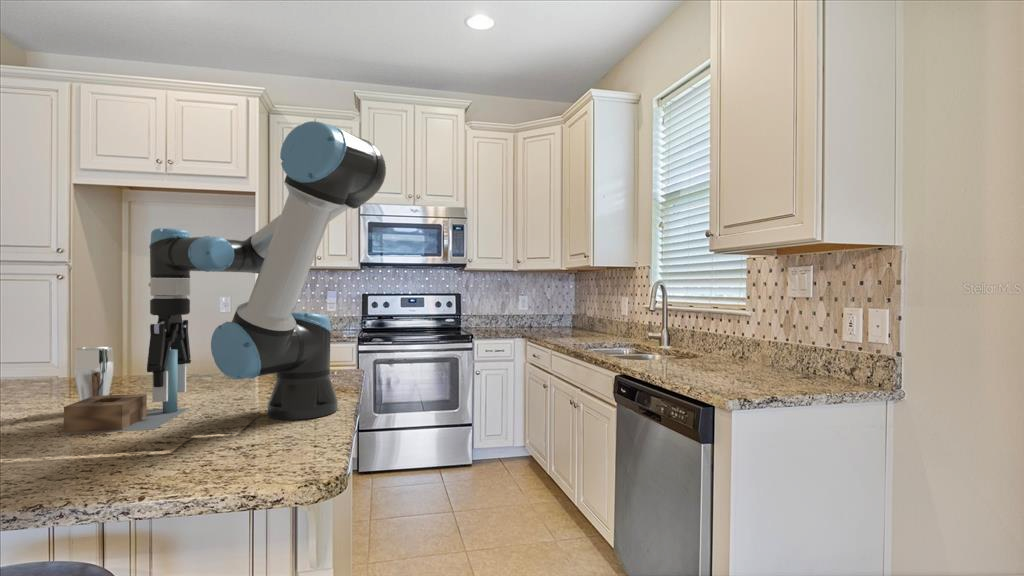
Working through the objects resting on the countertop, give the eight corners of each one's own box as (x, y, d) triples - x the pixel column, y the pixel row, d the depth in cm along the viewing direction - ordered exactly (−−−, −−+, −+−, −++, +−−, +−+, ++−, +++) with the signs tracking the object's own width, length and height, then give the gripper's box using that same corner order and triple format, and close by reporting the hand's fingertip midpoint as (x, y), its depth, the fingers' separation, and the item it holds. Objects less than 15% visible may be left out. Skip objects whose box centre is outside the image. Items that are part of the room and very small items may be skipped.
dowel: (179, 410, 118) (179, 349, 118) (174, 413, 115) (174, 350, 115) (165, 410, 117) (166, 349, 117) (160, 413, 115) (160, 351, 114)
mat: (189, 410, 120) (190, 408, 120) (153, 432, 102) (153, 429, 102) (111, 413, 116) (111, 411, 116) (60, 437, 99) (60, 433, 99)
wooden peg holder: (146, 416, 112) (146, 394, 112) (122, 429, 102) (122, 404, 102) (93, 419, 110) (93, 395, 110) (63, 432, 100) (63, 406, 100)
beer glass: (96, 418, 113) (96, 350, 113) (65, 417, 113) (65, 349, 113) (121, 410, 120) (121, 346, 120) (91, 409, 120) (92, 345, 120)
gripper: (172, 296, 126) (172, 387, 126) (126, 298, 105) (126, 408, 105) (206, 296, 127) (206, 386, 128) (167, 298, 106) (167, 407, 106)
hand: (170, 396), depth 116 cm, fingers open, 9 cm apart
